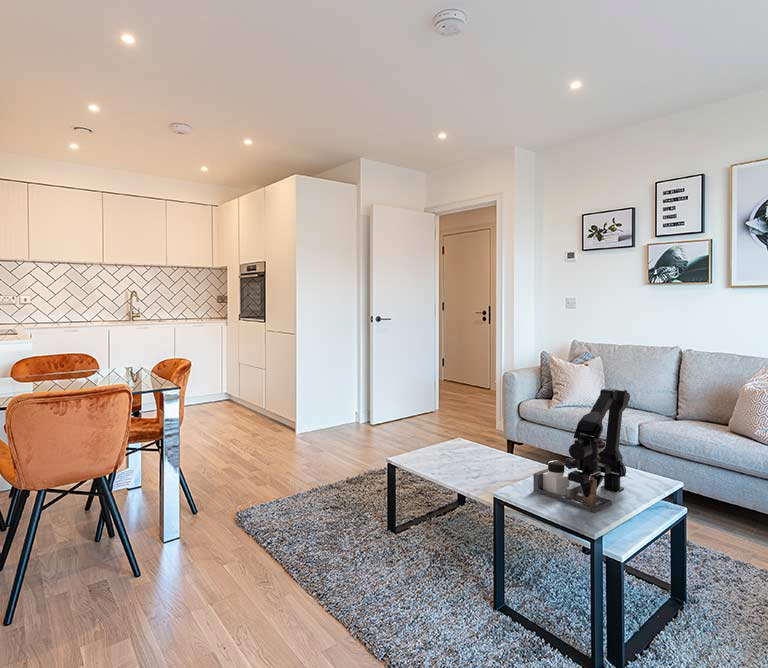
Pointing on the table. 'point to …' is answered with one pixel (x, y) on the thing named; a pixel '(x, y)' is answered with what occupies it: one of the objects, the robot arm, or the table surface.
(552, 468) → the medicine bottle
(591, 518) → the table surface
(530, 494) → the table surface
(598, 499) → the frame
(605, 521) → the table surface
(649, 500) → the table surface
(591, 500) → the press carriage
